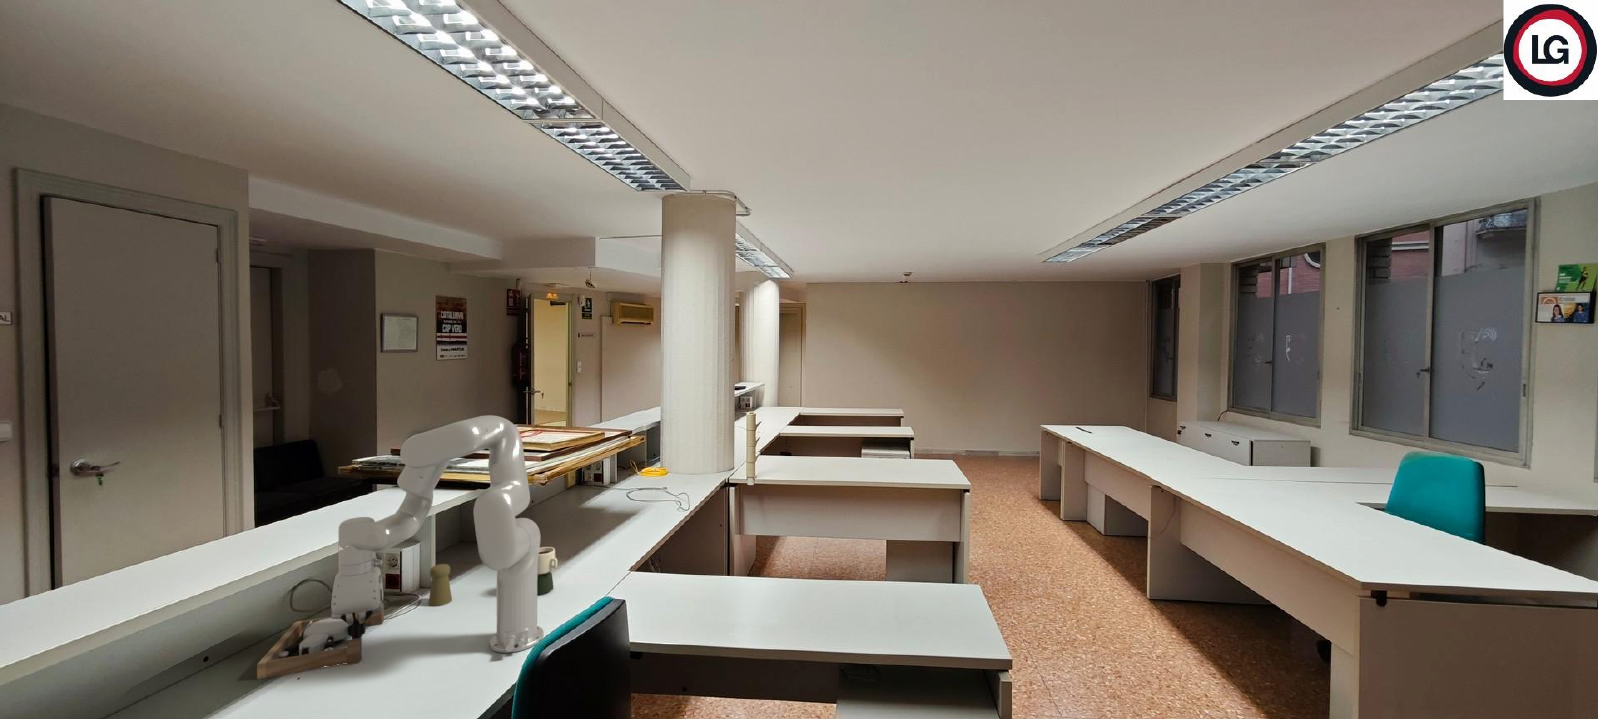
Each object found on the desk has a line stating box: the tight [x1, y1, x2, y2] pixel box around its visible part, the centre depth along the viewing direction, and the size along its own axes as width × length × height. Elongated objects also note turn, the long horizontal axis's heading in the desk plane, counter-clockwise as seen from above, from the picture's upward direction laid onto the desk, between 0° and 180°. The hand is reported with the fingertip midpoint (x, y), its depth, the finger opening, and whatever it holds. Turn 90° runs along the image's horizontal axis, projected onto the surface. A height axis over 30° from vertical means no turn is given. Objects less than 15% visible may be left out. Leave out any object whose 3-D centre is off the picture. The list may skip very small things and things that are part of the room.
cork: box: [427, 563, 453, 607], centre depth 170 cm, size 6×6×11 cm
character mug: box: [537, 546, 558, 595], centre depth 178 cm, size 11×7×13 cm, turn 72°
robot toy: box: [279, 618, 350, 658], centre depth 144 cm, size 12×4×15 cm
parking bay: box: [256, 602, 385, 680], centre depth 144 cm, size 23×19×5 cm
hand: (357, 637), depth 146 cm, fingers closed
